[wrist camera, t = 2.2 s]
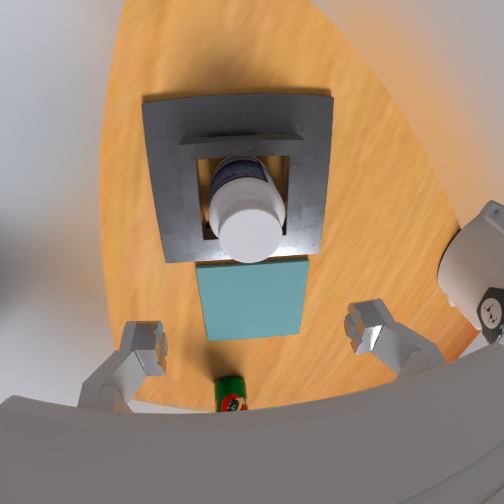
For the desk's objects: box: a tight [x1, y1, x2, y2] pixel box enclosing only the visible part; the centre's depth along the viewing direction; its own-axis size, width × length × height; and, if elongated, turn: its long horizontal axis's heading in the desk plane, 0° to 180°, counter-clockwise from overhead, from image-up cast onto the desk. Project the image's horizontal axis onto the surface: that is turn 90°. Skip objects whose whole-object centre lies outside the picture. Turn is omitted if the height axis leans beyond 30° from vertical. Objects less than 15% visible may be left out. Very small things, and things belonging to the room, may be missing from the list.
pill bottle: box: [209, 156, 285, 263], centre depth 22 cm, size 5×5×10 cm
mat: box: [196, 258, 309, 341], centre depth 34 cm, size 12×12×1 cm
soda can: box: [214, 376, 248, 413], centre depth 39 cm, size 5×5×12 cm
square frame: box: [142, 94, 334, 263], centre depth 24 cm, size 16×16×4 cm
